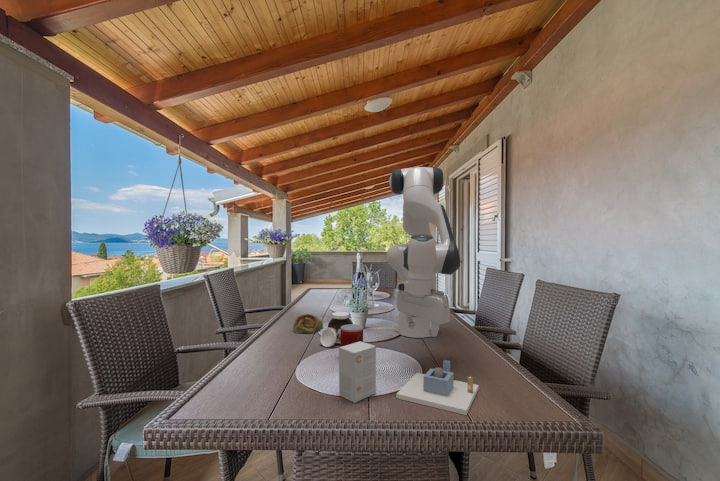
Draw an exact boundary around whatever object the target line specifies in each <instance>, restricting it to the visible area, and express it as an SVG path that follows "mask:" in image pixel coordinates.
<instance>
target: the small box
mask: <svg viewBox="0 0 720 481" xmlns="http://www.w3.org/2000/svg"><path fill="white" fill-rule="evenodd" d="M376 347H377V346H376V345H373V344H371V343H367V342H364V341H363V342H361V341H359V342H356V343H353V344H349V345H346V346H342V347H340V346H339V347H338V381H339V382H338V388H339V389H338V391H339V392H338V393H339V396H340V397H342V398H343V399H346V400H348V401H350V402H352V403H354V404H355V403H358V402H359V401H362V400H364V399H366V398H368V397H371V396H372V395H373V396H374V395H376V393H377V382H376V381H377V371H376V370H377V364H376V363H377V360H376V359H377V353H376V352H377V351H376V350H377V348H376Z"/></svg>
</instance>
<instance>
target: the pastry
mask: <svg viewBox="0 0 720 481" xmlns="http://www.w3.org/2000/svg"><path fill="white" fill-rule="evenodd" d="M292 327H293V328H292V329H293V334H296V335H297V334H298V335H301V334H307V335H308V334H309V335H310V334H315V333H318V332H319V331H320V330H322V329H324V324H323V321H322V320H321V318H320V317H317V316H315V315H312V314H308V313H307V314H302V315H299V316H297V318H296V319H295V320H294V321H293V326H292Z"/></svg>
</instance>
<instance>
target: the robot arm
mask: <svg viewBox="0 0 720 481" xmlns="http://www.w3.org/2000/svg"><path fill="white" fill-rule="evenodd" d="M388 180H389V181H388V183H389V188H390V190H391V192H392V193H393V194H395V195H398V196H399V195H402V196H403V206H402V228H403V231H404V232H405V233H406V234H407V235H409V236H410V237H409V241H408V243H399V244H393V245H391V246H390V247H389V248H388V250H387V252H386V262H387V263H388V265H389V266H390V267H391V268H392V269H393V270H394V271H395V272H396V273H397V275H398V277H399V278H400V280H401V282H399V283H396V290H397V292H396V308H397V311H398V312H399V313H398V321H397V327H395V332H397V333H398V334H399V335H400V336H404V337H407V338H414V339H415V338H416V339H417V338H419V339H420V338H421V339H423V338H430V337H431V338H432V337H433V338H435V337H438V334H439V331H440V325H443V324H446V323H447V324H448V323H449V322H450V320H451V309H450V303H449V296H448V295H447V294H446V293H445V291H442V290H437V274H440V275H450V276H451V275H453V274H454V273H455V272H457V271H458V270H459V269H460V266H461V263H462V262H461V261H462V259H461V253H460V251H459V248H458V246H457V243H456V240H455V238H454V233H453V230H452V227H451V224H450V220H449V216H448V214H447V211H446V208H445V207H444V205H442V204H441V203H440V202H439V201H438V200H437V199H436V198H435V195H437V194H439V193H440V192H441V191H442V190H443V188H444V185H445V182H446V181H445V180H446V178H445V175H444V172H443V169H441V168H440V167H436V166H433V167H429V166H414V167H404V168H397V169H396V168H395V169H393V170H392V172H391V174H390V176H389V179H388ZM430 224H432V225H434V226H435V227H436V228H437V231H438V236H439V238H440V242H441V243H438V242H437V241H436V240H435V237H434V236H433V235H432V232H431V228H430Z"/></svg>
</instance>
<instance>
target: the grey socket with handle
mask: <svg viewBox="0 0 720 481" xmlns="http://www.w3.org/2000/svg"><path fill="white" fill-rule="evenodd" d="M442 369H443V378H439V377H435V368H429V370H427V372H426V373H424V374H425V375H424V383H423V391H425V392H429V393H434V394H438V395H443V396H448V395H449V393H450V392H451V390H452V389H453V380H454V372H452V371H451V361H450V360H447V359H444V360H442Z"/></svg>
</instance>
